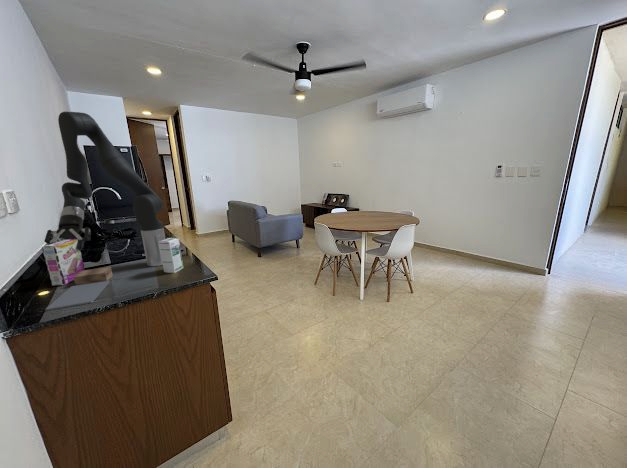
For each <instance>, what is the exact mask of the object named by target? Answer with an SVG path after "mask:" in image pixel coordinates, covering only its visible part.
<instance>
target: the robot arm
mask: <svg viewBox="0 0 627 468" xmlns="http://www.w3.org/2000/svg"><path fill="white" fill-rule="evenodd" d="M57 121H58V128H59V132H60V135H61V140H62V145H63V148H64V153H65V159H66V160H65V161H66V177H67V178H68V179H69V180H71V181H73V182H65V183H63V184H62V185H61V192H62V195H63V201H64V202H63V207H62V210H61V213H60V218H59V220H58V228H57V230H52V229H48V230H47V231H46V234H45V238H44V243H45V244H46V245H49V244H53V243H56V242H60V241H63V240H69V239H78V244H77V249H78V250H80V251H82V249H84V247H85V242H89V241H91V238H92V237H91V235H92V230H91V228H89V226H86V227H84V228H83V225H84V220H85V208H86V202H85V200H87V199H88V200H89V199H90V198H91V197H92V196H93V190H92V186H91V185H90V182H89V177H88V175H89V174H88V168H89V167H88V162H87V159H86V157H85V155H84V154H83V153H82V151H81V150H80V148H79V145H78V137H79V136H86V137H87V138H88V139H89V140H90V141H91V142H92V143H93V145H94V146H95V147H96V152H97V153H96V154H97V159H98V162H99V165H100V166H101V167H102V168H103V170H104V171H105V172H106V173H107V174H108V176H110V177H111V178H112V179H113V180H115V181H116V182H117V183H119V184H121V185H123V186H124V187H125V188H127V189H129V190H130V191H131V192H133V194H134V195H135V196H136V197H134V199H133V201H132V202H133V203H132V207H133V213H134V216H135V221H136V224H137V225H138V226H139V228H140V234H141V237H142V244H143V245H142V246H143V249H144V254H145V259H146V264H147V266H149V267H158V266H163V263H162V258H161V253H160V248H159V243H158V242H159V241H162V240H165V239H166V234H165V229H164V223H163V221H161V220H159V219H158V216H157V213H159V212H162V210H163V208H164V203H163V199H162V198H161V197H160V196H159V195H158V194H157V193H156V192H155V191H154V190H153V189H152V188H151V187H150V186H149V185H148V184H147V183H146V182H145V181H144V180H143V179H142V178H141V176H140V175H139V174H138V173H137V172H136V171H135V169H134V168H133V167H132V166H131V165H130V163H129V162H128V161H127V160H126V159H125V158H124V157H123V155H122V154H121V153H120V152H119V151H118V149H116V147H115V146H114V144H113V143H112V142H111V141H110V139H109V138H108V137H107V135H106V134H105V133H104V131H103V130H102V129H101V127H100V126H99V124H98V123H97V121H96V120H95V119H94V118H93V117H92V116H91V115H89V114H88V113H85V112H81V111H80V112H79V111H78V112H77V111H62V112H60V113H59V115H58V117H57ZM82 233H84V237H82V236H81V234H82Z"/></svg>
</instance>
